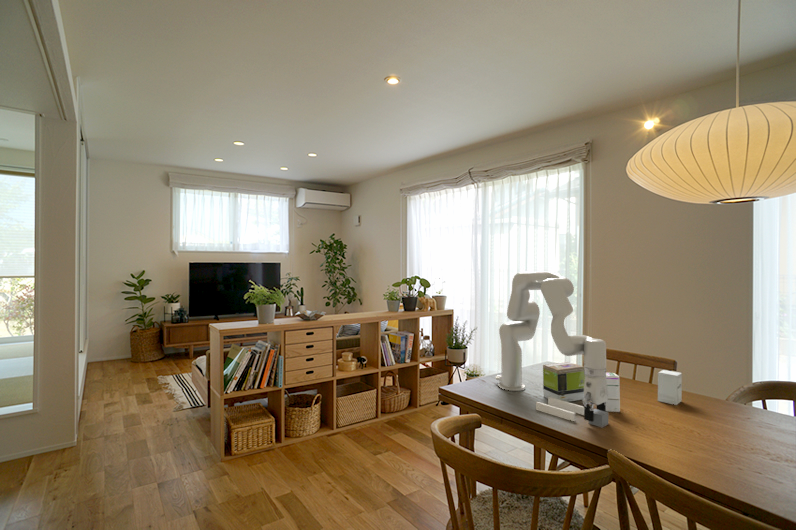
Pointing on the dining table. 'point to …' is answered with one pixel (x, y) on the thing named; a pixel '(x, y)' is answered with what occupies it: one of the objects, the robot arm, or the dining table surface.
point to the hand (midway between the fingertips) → (595, 417)
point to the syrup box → (613, 392)
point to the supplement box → (670, 387)
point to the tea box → (563, 381)
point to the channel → (560, 412)
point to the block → (600, 418)
